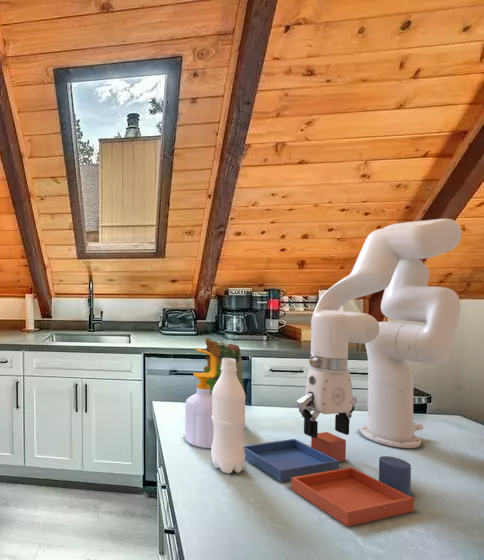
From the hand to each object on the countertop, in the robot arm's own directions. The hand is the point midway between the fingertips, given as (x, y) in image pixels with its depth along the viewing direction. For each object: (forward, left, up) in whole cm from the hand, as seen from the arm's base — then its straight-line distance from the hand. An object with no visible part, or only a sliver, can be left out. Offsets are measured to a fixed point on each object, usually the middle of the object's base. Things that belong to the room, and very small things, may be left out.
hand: (326, 434), depth 93 cm
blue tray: (+11, 0, -6) cm, 13 cm away
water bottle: (+26, -2, -6) cm, 27 cm away
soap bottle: (+23, -16, -6) cm, 29 cm away
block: (-1, 0, -6) cm, 6 cm away
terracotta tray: (+11, +15, -6) cm, 20 cm away
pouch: (+10, -25, -6) cm, 28 cm away
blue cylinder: (-1, +15, -6) cm, 16 cm away
